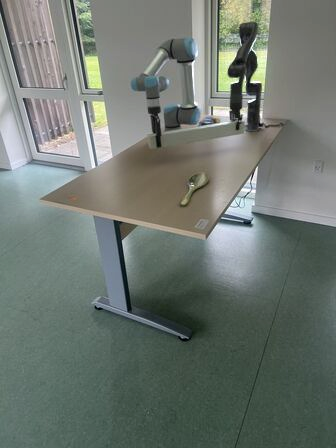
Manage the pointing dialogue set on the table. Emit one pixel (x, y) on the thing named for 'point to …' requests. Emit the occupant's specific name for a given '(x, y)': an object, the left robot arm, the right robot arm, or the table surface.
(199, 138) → the beam
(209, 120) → the spray gun
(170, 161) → the table surface
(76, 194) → the table surface
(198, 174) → the spoon
